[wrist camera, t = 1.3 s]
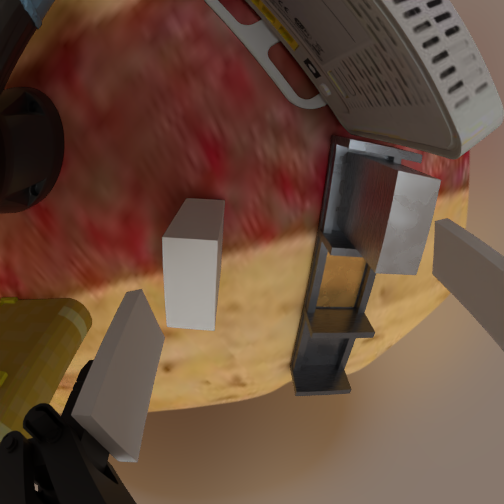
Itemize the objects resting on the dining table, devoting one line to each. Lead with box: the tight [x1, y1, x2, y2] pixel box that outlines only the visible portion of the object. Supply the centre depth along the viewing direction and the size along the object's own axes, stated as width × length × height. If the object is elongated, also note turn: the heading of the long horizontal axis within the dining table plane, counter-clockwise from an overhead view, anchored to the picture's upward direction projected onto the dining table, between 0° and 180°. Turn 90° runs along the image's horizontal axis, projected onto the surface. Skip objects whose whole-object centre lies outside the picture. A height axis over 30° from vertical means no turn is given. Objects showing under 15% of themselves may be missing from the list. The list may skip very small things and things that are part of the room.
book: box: [0, 297, 92, 442], centre depth 26 cm, size 17×7×25 cm, turn 95°
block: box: [162, 198, 225, 331], centre depth 28 cm, size 4×8×11 cm, turn 175°
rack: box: [290, 135, 441, 396], centre depth 30 cm, size 8×31×12 cm, turn 175°
